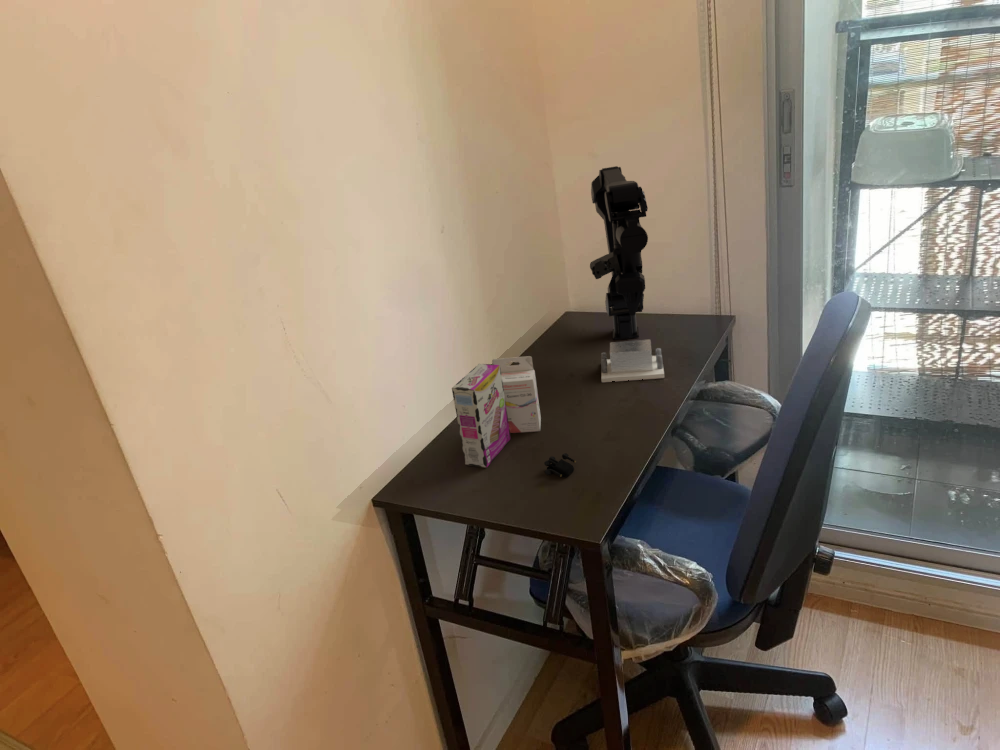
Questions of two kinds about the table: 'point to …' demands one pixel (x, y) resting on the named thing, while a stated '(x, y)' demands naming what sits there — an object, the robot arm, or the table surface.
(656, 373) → the pin tray
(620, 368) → the block
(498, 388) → the candy bar box
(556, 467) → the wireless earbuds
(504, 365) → the ink cartridge box
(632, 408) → the table surface
